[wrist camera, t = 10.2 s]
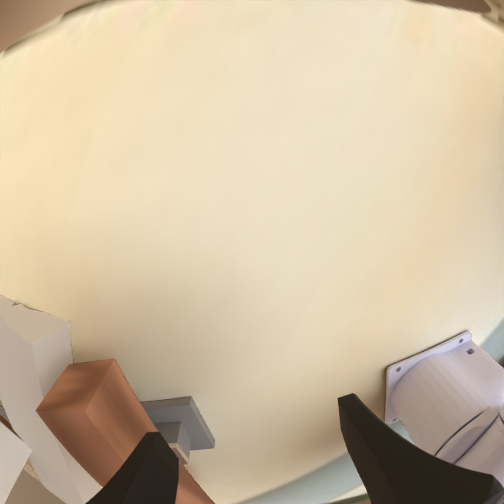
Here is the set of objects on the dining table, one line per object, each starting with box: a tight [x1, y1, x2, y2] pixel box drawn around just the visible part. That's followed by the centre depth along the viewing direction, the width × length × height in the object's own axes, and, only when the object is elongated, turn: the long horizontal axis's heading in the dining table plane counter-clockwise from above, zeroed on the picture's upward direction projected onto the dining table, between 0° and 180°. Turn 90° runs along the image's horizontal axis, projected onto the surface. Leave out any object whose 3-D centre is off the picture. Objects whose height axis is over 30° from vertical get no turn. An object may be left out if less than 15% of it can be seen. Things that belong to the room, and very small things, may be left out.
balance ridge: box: [140, 397, 215, 464], centre depth 21 cm, size 8×6×4 cm
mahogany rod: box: [35, 359, 215, 504], centre depth 16 cm, size 4×20×5 cm, turn 14°
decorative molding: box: [0, 295, 102, 504], centre depth 23 cm, size 34×5×10 cm
